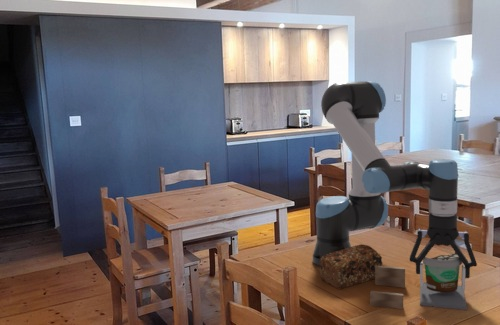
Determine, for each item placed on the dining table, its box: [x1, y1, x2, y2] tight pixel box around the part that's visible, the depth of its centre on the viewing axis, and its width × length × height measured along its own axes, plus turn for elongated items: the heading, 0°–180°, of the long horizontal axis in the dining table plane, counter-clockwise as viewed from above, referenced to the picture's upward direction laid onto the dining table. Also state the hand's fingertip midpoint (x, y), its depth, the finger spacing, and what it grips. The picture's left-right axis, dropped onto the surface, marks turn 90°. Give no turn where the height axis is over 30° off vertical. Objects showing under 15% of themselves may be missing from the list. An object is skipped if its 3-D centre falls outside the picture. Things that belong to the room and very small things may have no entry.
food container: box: [422, 251, 463, 292], centre depth 135 cm, size 12×6×10 cm, turn 108°
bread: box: [319, 244, 383, 290], centre depth 152 cm, size 19×11×10 cm, turn 116°
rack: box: [369, 265, 406, 310], centre depth 138 cm, size 9×16×6 cm, turn 160°
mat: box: [419, 281, 468, 311], centre depth 136 cm, size 12×15×1 cm
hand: (442, 286), depth 136 cm, fingers closed on food container, 11 cm apart
